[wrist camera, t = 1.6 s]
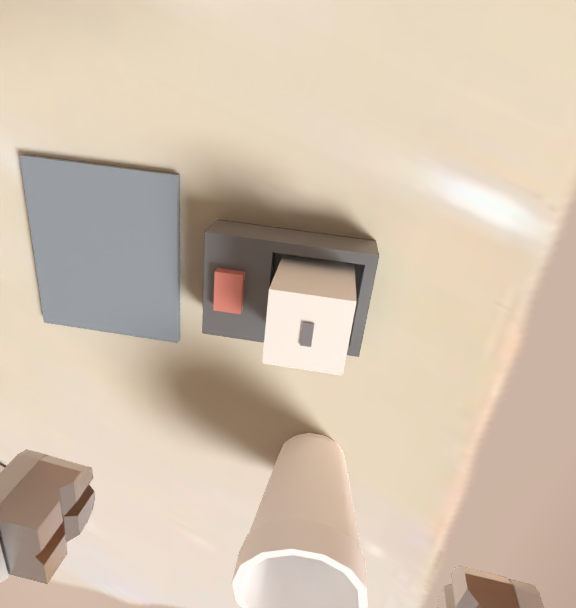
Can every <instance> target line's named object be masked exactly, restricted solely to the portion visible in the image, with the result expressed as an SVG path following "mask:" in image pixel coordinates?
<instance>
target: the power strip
mask: <svg viewBox="0 0 576 608" xmlns="http://www.w3.org/2000/svg"><path fill="white" fill-rule="evenodd" d="M283 254H288V255H295V256H303V257H310V258H317V259H325V260H332V261H339V262H347V263H354V265H355V282H356V300H357V302H356V308H355V313H354V318H353V324H352V329H351V334H350V340H349V345H348V350H347V355H350V356H357V357H359V354H360V349H361V344H362V339H363V334H364V329H365V324H366V319H367V314H368V309H369V304H370V299H371V294H372V289H373V284H374V279H375V274H376V269H377V264H378V259H379V252H378V248H377V243H376V241H373V240H366V239H358V238H351V237H343V236H336V235H328V234H321V233H313V232H306V231H298V230H291V229H283V228H276V227H268V226H261V225H253V224H246V223H238V222H231V221H223V220H217V221H216V222H215V223H214V224H213V225H212V226H211V227H210V228H208V229H207V230H206V231H205V243H204V284H203V326H202V333H204V334H210V335H217V336H224V337H230V338H237V339H244V340H250V341H257V342H264V337H265V327H266V316H267V305H268V294H269V288H270V285H271V283H272V280H273V278H274V276H275V273H276V271H277V268H278V266H279V263H280V261H281V259H282V256H283Z"/></svg>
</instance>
